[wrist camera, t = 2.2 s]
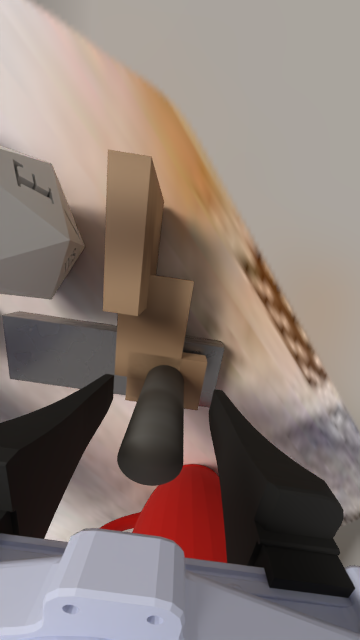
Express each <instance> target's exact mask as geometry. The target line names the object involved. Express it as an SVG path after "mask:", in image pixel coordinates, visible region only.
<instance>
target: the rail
mask: <svg viewBox="0 0 360 640" xmlns="http://www.w3.org/2000/svg"><path fill="white" fill-rule="evenodd" d="M2 317H3V325H4V333H5V341H6V350H7V358H8V366H9V374H10V379H15V380H22V381H29V382H36V383H43V384H50V385H57V386H65V387H72V388H79V389H82V388H83V387H85V386H87V385H88V384H90V383H92V382H93V381H95V380H96V379H98V378H100V377H101V376H103V375H105V374H111V375H114V390H113V393H114V394H121V395H126V385H127V377H126V376H119V375H115V357H116V339H117V326H115V325H108V324H101V323H94V322H88V321H81V320H74V319H67V318H60V317H54V316H47V315H40V314H33V313H26V312H20V311H19V312H14V313H10V314H5V315H2ZM183 352H185V353H191V354H198V355H205V356H206V359H207V367H206V372H205V376H204V381H203V386H202V391H201V396H200V400H199V405H198V406H205V407H210V405H211V400H212V396H213V392H214V389H215V387H216V383H217V378H218V374H219V370H220V365H221V361H222V357H223V352H224V346H223V344H222V342H221V341H216V340H210V339H203V338H196V337H189V336H185V340H184V346H183Z"/></svg>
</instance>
